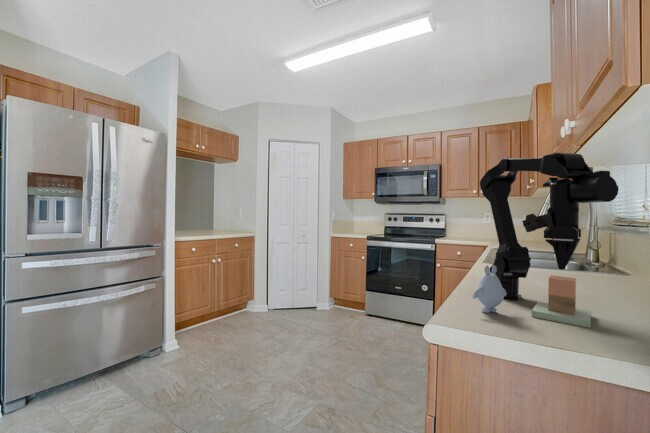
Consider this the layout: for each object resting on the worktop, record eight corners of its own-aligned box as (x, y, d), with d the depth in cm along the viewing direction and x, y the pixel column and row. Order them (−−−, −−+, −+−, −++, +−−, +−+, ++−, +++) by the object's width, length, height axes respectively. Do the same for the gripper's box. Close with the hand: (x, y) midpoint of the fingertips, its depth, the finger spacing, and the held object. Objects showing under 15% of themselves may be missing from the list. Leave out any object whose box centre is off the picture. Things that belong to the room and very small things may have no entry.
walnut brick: (550, 306, 80) (550, 290, 80) (575, 310, 77) (575, 294, 76) (548, 310, 76) (548, 294, 76) (574, 315, 73) (574, 298, 73)
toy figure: (495, 307, 83) (496, 262, 83) (516, 314, 77) (517, 266, 77) (463, 310, 80) (464, 264, 80) (482, 318, 74) (483, 268, 74)
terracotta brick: (550, 290, 80) (551, 275, 80) (575, 294, 76) (575, 278, 76) (548, 294, 76) (548, 278, 76) (574, 298, 73) (574, 281, 73)
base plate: (537, 307, 84) (538, 301, 84) (591, 316, 77) (591, 310, 77) (531, 316, 76) (531, 310, 76) (590, 328, 69) (590, 321, 69)
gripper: (531, 205, 88) (530, 260, 88) (518, 202, 74) (517, 267, 74) (581, 205, 81) (580, 264, 81) (578, 201, 67) (577, 273, 67)
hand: (563, 267), depth 76 cm, fingers open, 9 cm apart
